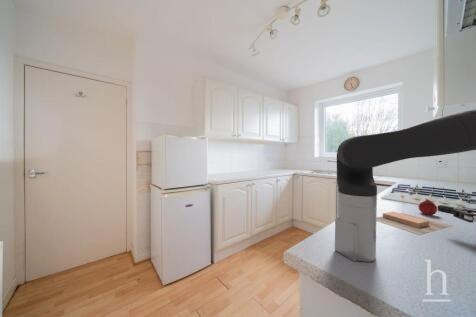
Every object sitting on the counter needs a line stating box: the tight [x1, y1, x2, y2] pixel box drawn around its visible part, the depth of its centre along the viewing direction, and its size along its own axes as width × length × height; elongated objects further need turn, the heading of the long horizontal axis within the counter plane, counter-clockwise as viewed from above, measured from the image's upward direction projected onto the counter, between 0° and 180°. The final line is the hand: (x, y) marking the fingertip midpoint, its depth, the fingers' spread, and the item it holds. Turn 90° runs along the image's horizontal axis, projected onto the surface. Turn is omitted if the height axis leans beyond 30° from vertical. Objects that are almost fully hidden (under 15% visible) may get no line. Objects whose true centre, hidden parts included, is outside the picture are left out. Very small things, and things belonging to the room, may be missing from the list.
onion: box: [418, 198, 438, 216], centre depth 81 cm, size 6×6×8 cm
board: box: [376, 212, 453, 236], centre depth 72 cm, size 22×16×1 cm
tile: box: [382, 211, 429, 228], centre depth 73 cm, size 7×2×12 cm
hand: (438, 207), depth 64 cm, fingers closed
